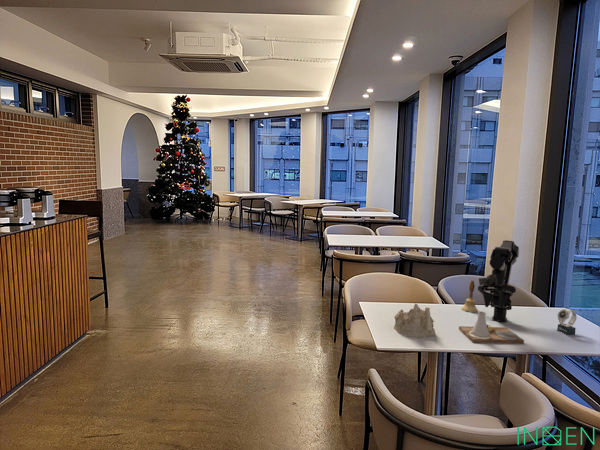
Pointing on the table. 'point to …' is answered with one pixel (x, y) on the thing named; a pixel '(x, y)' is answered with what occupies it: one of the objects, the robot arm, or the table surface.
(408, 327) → the ceramic cottage
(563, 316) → the watch
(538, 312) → the table surface
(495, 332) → the gear board
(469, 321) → the table surface
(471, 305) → the hand bell
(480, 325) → the flask
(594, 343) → the table surface
